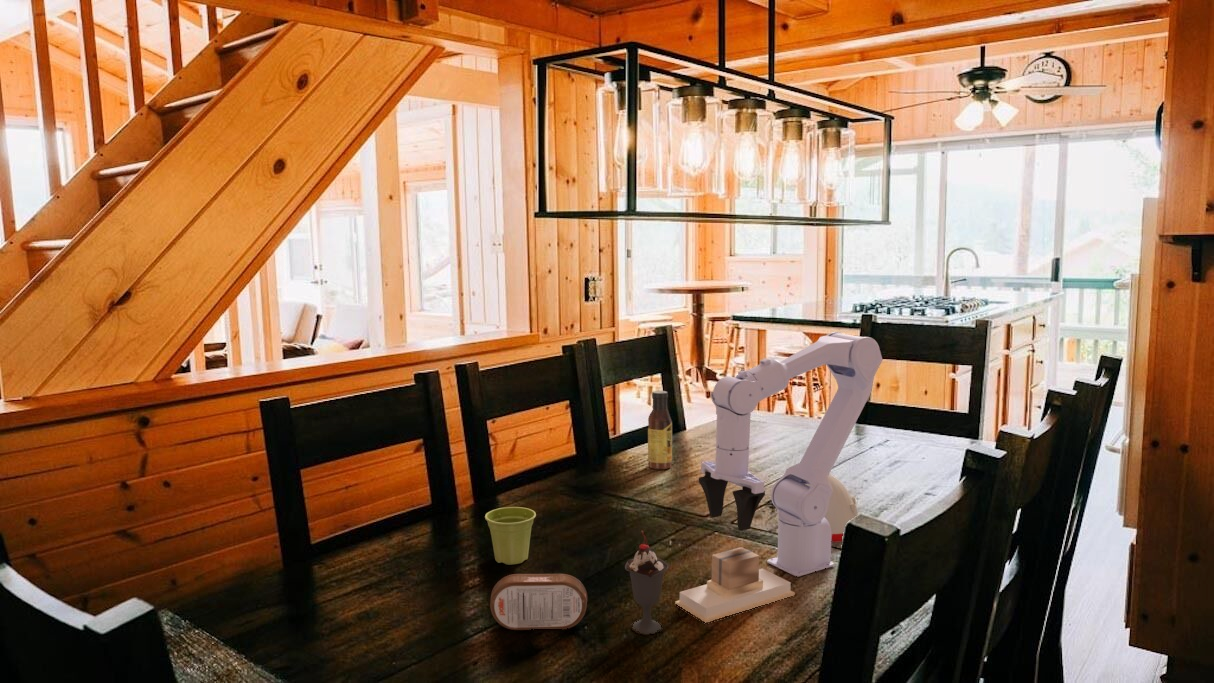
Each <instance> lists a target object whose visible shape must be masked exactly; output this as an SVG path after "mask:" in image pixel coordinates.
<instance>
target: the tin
mask: <svg viewBox="0 0 1214 683" xmlns="http://www.w3.org/2000/svg"><path fill="white" fill-rule="evenodd" d="M587 603H588V593H587V590H586V587H585V586H584V584H583V582H581V581H580V580H579V579H578V578H576V577H575V576H573V575H570V574H566V573H514V574H509V575H507V576H504V577H502V578H501V579H500V580H498V581H497V583H495V585H494V586H493V588H492V591H491V593H490V603H489V604H490V611H491V615H492V617H493V619H494V620H495V621H496V622H497V623H498V624H499V625H500V626H501V627H503V628H505V629H508V630H512V631H535V630H534V629H562V630H568V629H571V628H573V627H575V626H577V624H578V623H580V622H581V621H582V620H583V618H584V616H585V615H586V611H587V607H588V604H587ZM567 628H568V629H567ZM531 629H533V630H531Z"/></svg>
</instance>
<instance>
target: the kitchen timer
mask: <svg viewBox="0 0 1214 683" xmlns="http://www.w3.org/2000/svg"><path fill="white" fill-rule="evenodd" d="M828 479H829V482H830V484H831V487H832V489H833V492H832V494H831V496H830V499H829V505H828V511H827V513H826V515H825V518H826V519H827V521H828V522H829V524H830V527H831V533H832V536H831V541H834V542H833V543H835V542H836V543H837V541H839V542H843V541H842V536H843V532H844V528H845V525H846V523H847V522H848V521H849V520H851V519H852V518H854V517H855V516H857V515H858V516H859V514H858V507H857V501H856V497H855V495H851V494H850V492H849V491H848V489H847V487H846V486H845V484H843V482H842V481H841V480H840V479H838V478H837V477H835V476H834V475H833V474H830V473H829V475H828ZM805 485H807V486H810V485H809V484H805ZM858 516H857V517H858Z"/></svg>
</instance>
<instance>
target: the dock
mask: <svg viewBox="0 0 1214 683" xmlns="http://www.w3.org/2000/svg"><path fill="white" fill-rule="evenodd" d="M759 578H760V579H761V580H763V587H762V588H759V589H756V590H752V591H749V592H746V593H742V594H739V595H736V596H732V597H729V598H724V597H722V596H720V595H719V594H717V593H715V592H713V591H712V590H710V589H708V588H707V583H706V584H703V585H699V586H696V587H692V588H689V589H685V590H683V591H679V599H678V600H675V601H674V602H675V603H674V604H677V605H678V606H680V607H682V608H683V609H685V610H686V611H688V612H690V613H691V614H693V615H695V616H696V617H698V618H700V619H701V620H702V621H704V622H705V623H706V622H710V621H713V620H715V619H719V618H722V617H725V616H729V615H732V614H735V613H739V612H742V611H745V610H749V609H752V608H755V607H758V606H761V605H765V604H768V605H770V604H769V603H771V602H774V603H776V602H775V601H777V600H780V599H783V600H785V599H784V598H787V597H789V596H793V595H795V594H796V592H794V591H792V590H791V588H792V587H791V586H792V585H791V584H792V582H790V581H788V580H787V579H785V578H783V577H781V576H779V575H776V574H775V573H773V572H770V571H769V570H767V569H765V568H759ZM793 597H794V596H793ZM787 599H788V598H787ZM780 601H781V600H780ZM777 602H778V601H777ZM771 604H772V603H771ZM678 606H677V607H678ZM765 606H766V605H765ZM761 607H762V606H761ZM758 608H759V607H758ZM683 609H682V610H683ZM755 609H756V608H755ZM752 610H753V609H752ZM686 611H685V612H686ZM749 611H750V610H749ZM742 613H743V612H742ZM739 614H740V613H739ZM705 623H704V624H705Z"/></svg>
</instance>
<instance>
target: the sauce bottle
mask: <svg viewBox="0 0 1214 683" xmlns="http://www.w3.org/2000/svg"><path fill="white" fill-rule="evenodd" d="M651 398H652V406H651V407H652V410H651V412H650V413H649V415H648V420H647V421H648V422H647V424H648V427H647V457H648V458H647V461H648V467H649V468H650V469H652V470H667V469H670V468H671V467H672V462H673V420H672V418H671V415H670V411H669V409H668V398H669V395H668V391H665V390H654V391H652V393H651Z"/></svg>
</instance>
